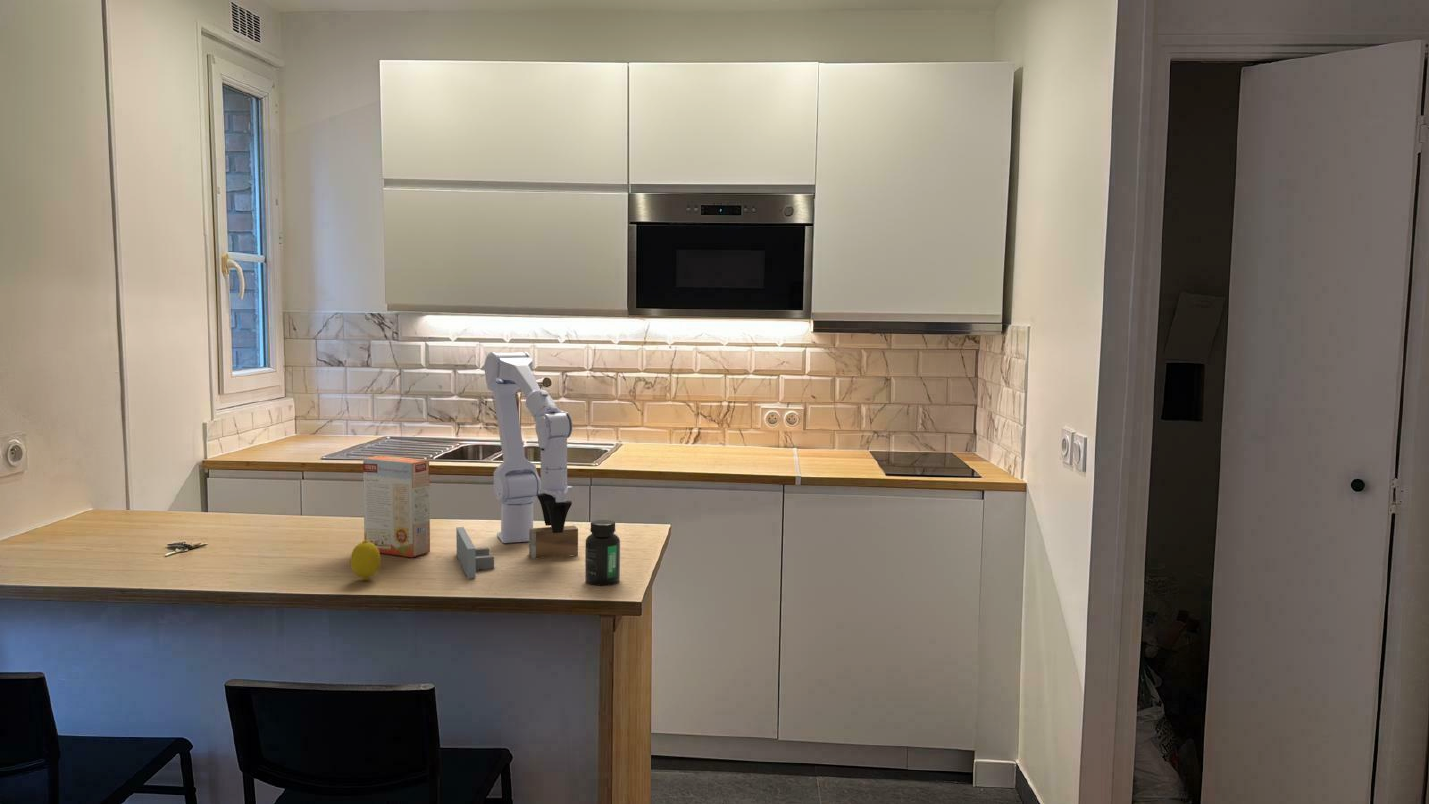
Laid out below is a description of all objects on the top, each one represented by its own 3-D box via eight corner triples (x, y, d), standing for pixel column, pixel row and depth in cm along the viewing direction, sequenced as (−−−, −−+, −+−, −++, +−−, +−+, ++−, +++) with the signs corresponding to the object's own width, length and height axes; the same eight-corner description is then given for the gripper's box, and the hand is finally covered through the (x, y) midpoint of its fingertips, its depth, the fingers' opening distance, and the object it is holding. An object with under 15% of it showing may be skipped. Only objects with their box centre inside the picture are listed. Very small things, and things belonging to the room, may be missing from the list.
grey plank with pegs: (456, 554, 206) (456, 527, 205) (484, 552, 208) (484, 525, 208) (467, 578, 187) (467, 549, 187) (498, 576, 190) (498, 546, 189)
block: (529, 555, 207) (529, 528, 206) (574, 551, 210) (574, 525, 210) (532, 559, 203) (532, 532, 203) (578, 555, 207) (578, 529, 206)
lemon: (355, 576, 188) (354, 537, 187) (384, 576, 188) (383, 537, 187) (347, 584, 182) (346, 543, 181) (376, 584, 183) (375, 543, 182)
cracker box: (431, 552, 207) (430, 458, 205) (412, 559, 201) (411, 462, 199) (383, 545, 213) (382, 453, 211) (363, 551, 207) (361, 457, 205)
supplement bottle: (620, 585, 185) (621, 525, 183) (585, 586, 183) (586, 526, 182) (618, 576, 191) (619, 518, 190) (584, 577, 190) (585, 518, 189)
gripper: (579, 472, 200) (579, 534, 201) (564, 461, 213) (564, 520, 214) (546, 473, 197) (546, 537, 198) (533, 463, 211) (533, 522, 212)
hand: (553, 528), depth 206 cm, fingers open, 7 cm apart
